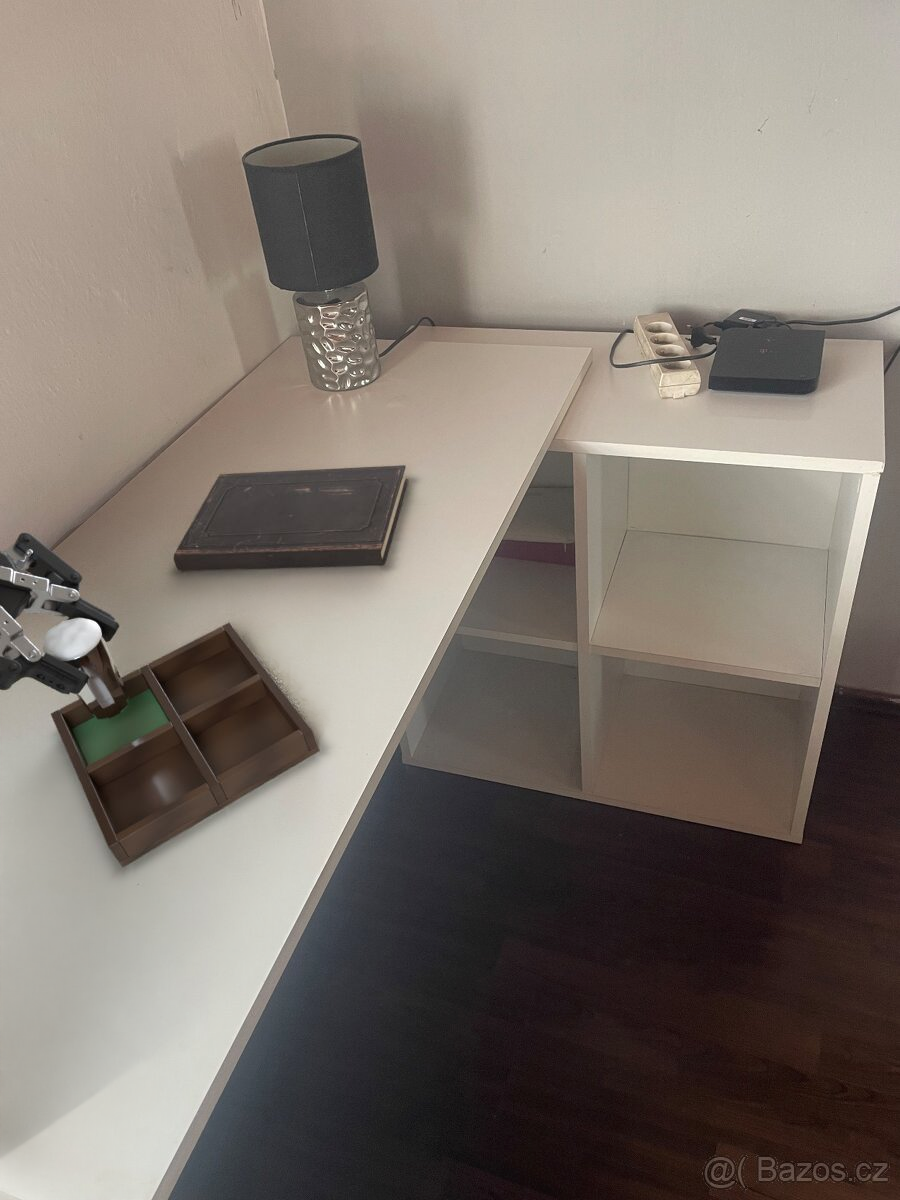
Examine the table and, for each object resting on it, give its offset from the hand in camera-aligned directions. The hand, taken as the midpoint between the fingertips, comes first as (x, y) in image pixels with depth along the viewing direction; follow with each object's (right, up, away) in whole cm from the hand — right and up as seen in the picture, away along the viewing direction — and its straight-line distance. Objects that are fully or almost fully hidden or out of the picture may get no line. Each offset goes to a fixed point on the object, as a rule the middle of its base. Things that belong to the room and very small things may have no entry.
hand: (98, 658), depth 70 cm
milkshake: (-1, -5, +4) cm, 7 cm away
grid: (+5, -8, +6) cm, 11 cm away
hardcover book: (+11, +13, +28) cm, 33 cm away
